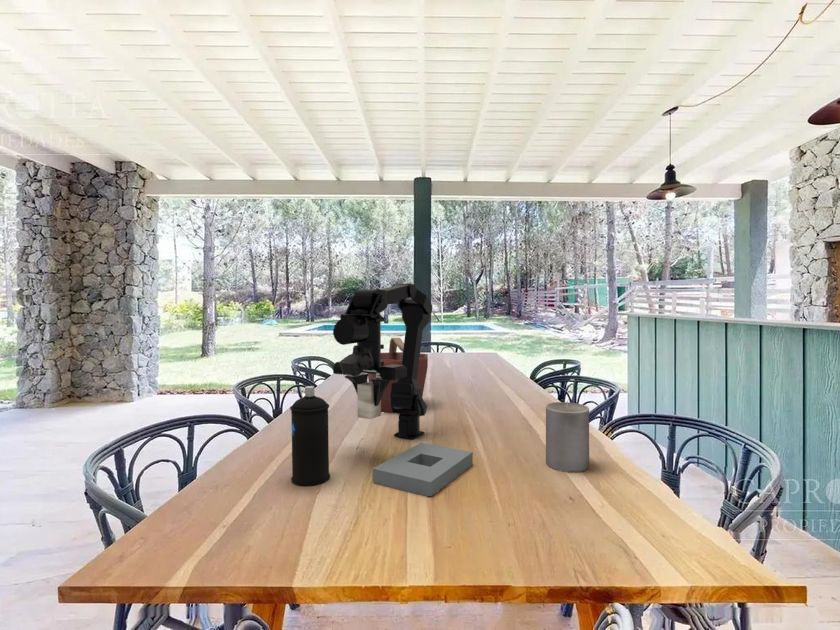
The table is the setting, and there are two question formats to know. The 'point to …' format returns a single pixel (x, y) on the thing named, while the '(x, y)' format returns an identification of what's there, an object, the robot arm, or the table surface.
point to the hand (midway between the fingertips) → (369, 404)
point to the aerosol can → (310, 440)
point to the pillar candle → (567, 436)
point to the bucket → (396, 359)
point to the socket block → (423, 468)
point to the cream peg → (367, 401)
